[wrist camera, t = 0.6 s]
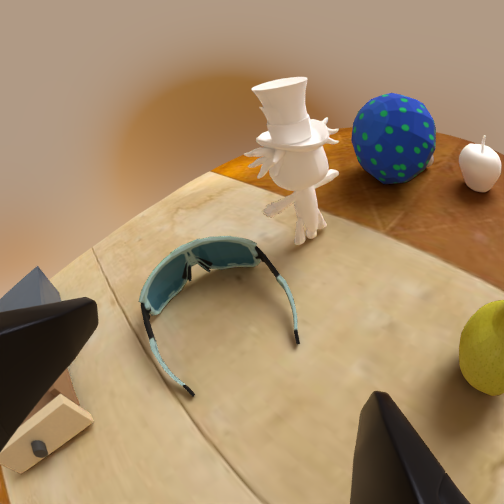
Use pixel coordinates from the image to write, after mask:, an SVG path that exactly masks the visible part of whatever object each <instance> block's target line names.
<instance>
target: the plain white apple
mask: <svg viewBox="0 0 504 504" xmlns="http://www.w3.org/2000/svg"><path fill="white" fill-rule="evenodd" d="M485 139H486V136H485V135H484V136H483V139H482V145H480V144H468V145H467V146H466V147H465V148H464V149H463V150H462V151H461V153H460V156H459V165H460V168H461V171H462V174H463V177H464V180H465V183H466V185H467V186H468V187H469V188H471V189H472V190H474V191H477V192H487V191H488V190H490V189H491V188H492V186H493V185H494V184H495V182H496V181H497V179H498V178H499V176H500V174H501V161H500V158H499V156H498V155H497V153H496V152H494V151H493V150H492V149H491V148H490V147H488V146H484V145H485Z"/></svg>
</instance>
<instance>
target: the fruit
mask: <svg viewBox="0 0 504 504" xmlns="http://www.w3.org/2000/svg"><path fill="white" fill-rule="evenodd" d="M459 363H460V368H461V372H462V374H463V376H464V378H465V379H466V380H467V382H468V383H469V384H470V385H471V386H473V387H474V388H475V389H477V390H479V391H481V392H483V393H486V394H488V395H491V396H495V395H500V394H503V393H504V300H499V301H494V302H491V303H488V304H486V305H484V306H483V307H481V308H480V309H479V310H478V311H477V312H476V313H475V314H474V315H473V316H472V317H471V318H470V319H469V321H468V322H467V324H466V325H465V327H464V329H463V331H462V333H461V338H460V345H459Z"/></svg>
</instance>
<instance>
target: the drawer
mask: <svg viewBox="0 0 504 504" xmlns="http://www.w3.org/2000/svg"><path fill="white" fill-rule="evenodd" d="M93 422H94V421H93V418H92V416H91V414H90V413H89V412H88V411H86V410H85V409H83V408H81V407H80V404H79V402H78V399H77V396H76V393H75V390H74V388H73V385H72V382H71V379H70V375H69V372H68V369H66V370H65V371H64V372H63V373H62V374H61V376H60V377H59V378H58V379H57V380H56V382H55V383H54V384H53V385H52V386H51V388H50V389H49V390H48V391H47V393H46V394H45V395H44V396H43V397H42V399H41V400H40V401H39V402H38V404H37V405H36V406H35V407H34V409H33V410H32V411H31V412H30V414H29V415H28V416H27V418H26V419H25V420H24V421H23V423H22V424H21V425H20V427H19V428H18V429H17V431H16V432H15V433H14V434H13V436H12V437H11V438H10V440H9V441H8V443H7V444H6V446H5V447H4V448H3V450H2V451H1V452H0V464H1V465H3V466H5V467H7V468H9V469H12V470H14V471H16V472H18V473H21V474H22V473H23V472H25V471H26V470H28V469H29V468H31V467H32V466H33V465H35V464H36V463H38V462H39V461H41V460H42V459H43V458H45V457H47V456H48V455H49V454H50V453H52V452H53V451H55V450H56V449H57V448H59V447H60V446H62V445H63V444H64V443H66V442H67V441H69V440H70V439H71V438H73V437H74V436H75V435H77V434H78V433H79V432H81V431H82V430H83V429H85V428H86V427H88V426H89V425H90V424H92V423H93Z"/></svg>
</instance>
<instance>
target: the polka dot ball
mask: <svg viewBox="0 0 504 504" xmlns="http://www.w3.org/2000/svg"><path fill="white" fill-rule="evenodd" d="M352 143H353V147H354V150H355V153H356V156H357V159H358V162H359V163H360V165H361V166H362V167H363V169H364V170H366V171H367V172H368V173H370V174H371V175H372V176H374V177H375V178H376V179H377V180H379V181H380V182H382V183H383V184H394V183H404V182H408V181H410V180H411V179H413V178H414V177H415V176H417V175H418V174H419V173H421V172H422V171H423V170H425V168H426V167H430V166H431V165H432V163H433V161H434V157H433V153H434V151H435V143H436V127H435V123H434V120H433V118H432V117H431V115H430V113H429V112H428V110H427V109H426V107H425V105H424V104H423V103H421V102H419V101H418V100H416V99H412V98H410V97H406V96H403V95H399V94H394V93H390V94H385V95H382V96H379V97H376V98H373V99H371V100H370V101H369V102H367V103H366V104H365V105H364V106H363V107H362V108H361V109H360V111H359V112H358V114H357V116H356V118H355V120H354V123H353V131H352Z"/></svg>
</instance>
